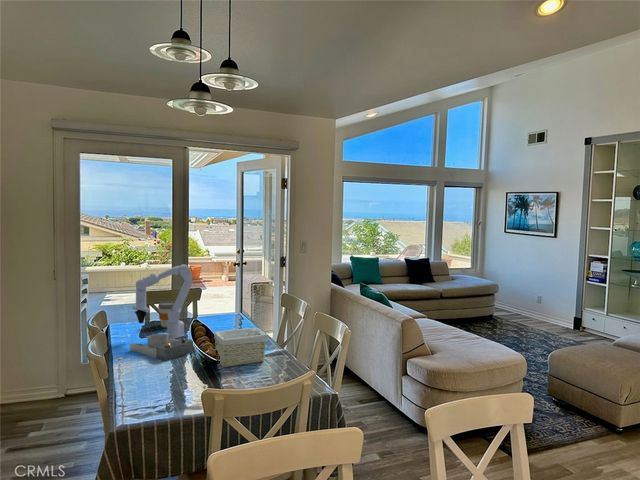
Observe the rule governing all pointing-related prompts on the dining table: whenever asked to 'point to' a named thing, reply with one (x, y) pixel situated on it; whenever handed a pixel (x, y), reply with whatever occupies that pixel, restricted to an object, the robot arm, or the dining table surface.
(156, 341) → the teacup
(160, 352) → the motor block
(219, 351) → the storage basket
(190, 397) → the dining table surface
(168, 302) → the reusable coffee cup
